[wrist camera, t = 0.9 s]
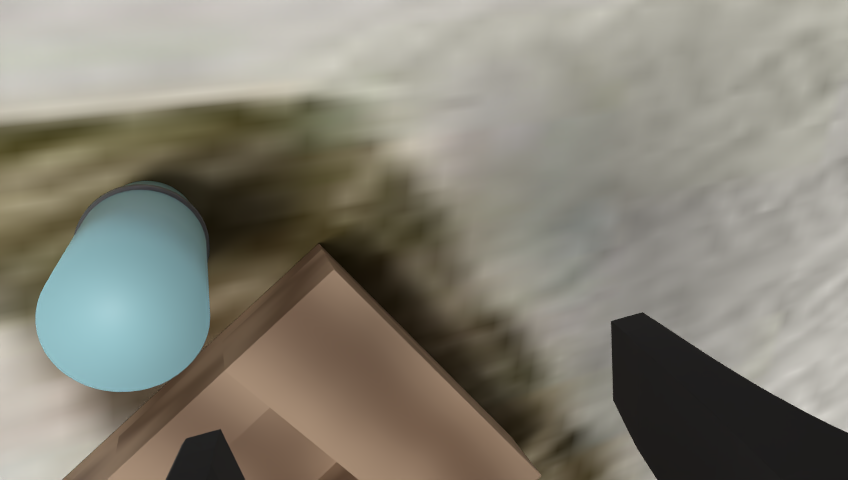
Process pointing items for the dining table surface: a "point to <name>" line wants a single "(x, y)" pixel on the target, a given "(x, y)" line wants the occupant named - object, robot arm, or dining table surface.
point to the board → (316, 397)
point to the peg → (129, 291)
